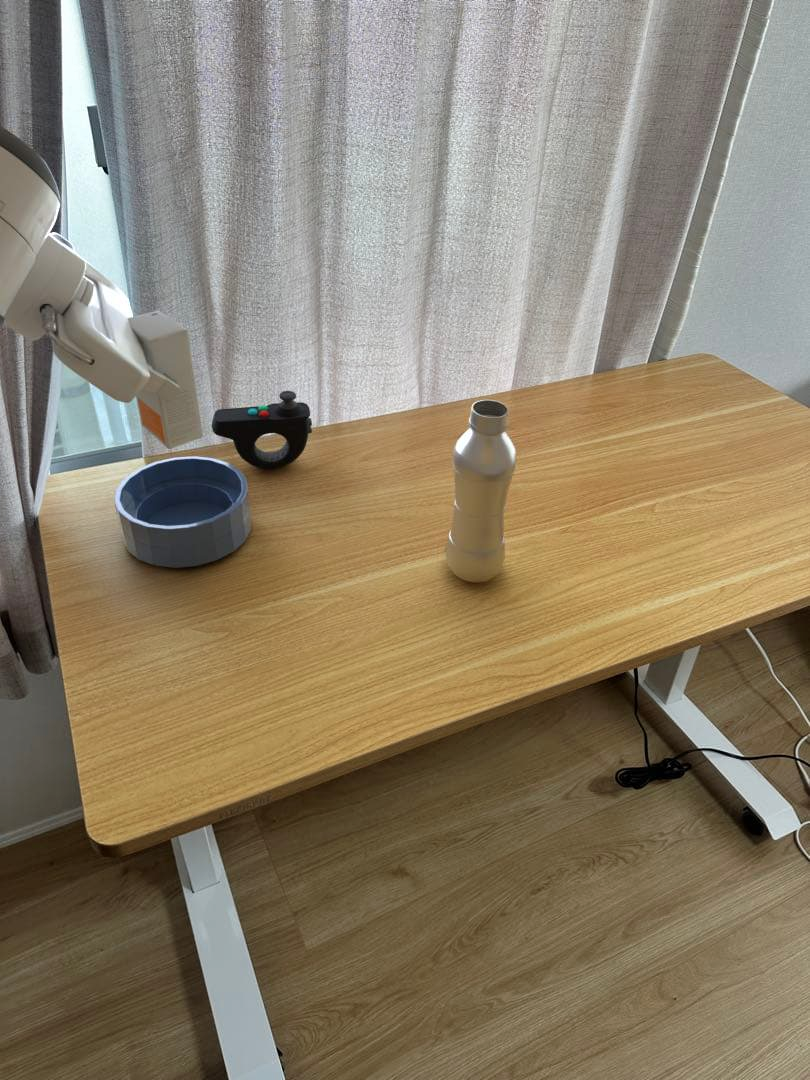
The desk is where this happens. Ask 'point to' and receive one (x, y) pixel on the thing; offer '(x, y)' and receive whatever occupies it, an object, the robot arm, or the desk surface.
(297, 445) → the controller
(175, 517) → the bowl
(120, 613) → the desk surface
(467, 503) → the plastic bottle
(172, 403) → the cosmetic box
